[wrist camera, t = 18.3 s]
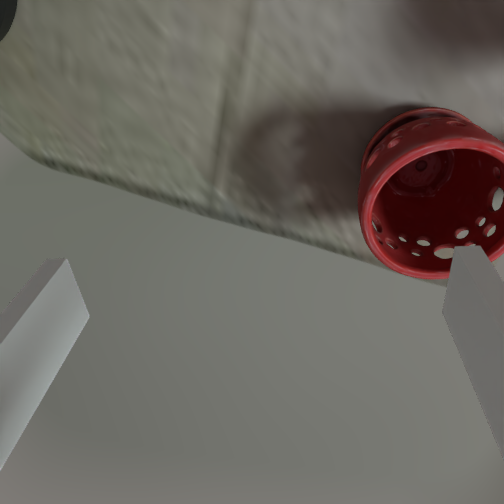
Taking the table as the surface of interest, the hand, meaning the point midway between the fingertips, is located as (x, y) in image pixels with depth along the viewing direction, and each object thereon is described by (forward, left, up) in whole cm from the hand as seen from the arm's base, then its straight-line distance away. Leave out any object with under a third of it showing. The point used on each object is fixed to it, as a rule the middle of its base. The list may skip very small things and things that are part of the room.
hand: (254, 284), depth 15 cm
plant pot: (+13, -9, -32) cm, 36 cm away
